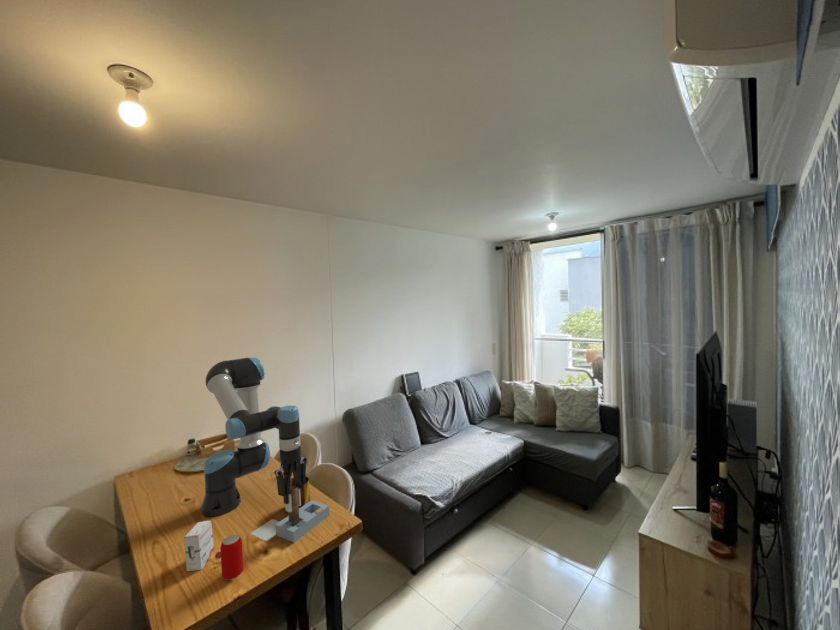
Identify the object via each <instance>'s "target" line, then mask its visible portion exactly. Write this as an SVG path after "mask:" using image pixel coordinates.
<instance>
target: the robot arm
mask: <svg viewBox="0 0 840 630" xmlns="http://www.w3.org/2000/svg"><path fill="white" fill-rule="evenodd" d="M265 374H266V373H265V368H264V365H263V363H262V361H261V359H259V358H258V357H243V358H236V359H231V360H222V361H219V362H217V363H216V364H214V365H213V366H212V367H211V368H210V369H209V370H208V372H207V374H206V376H205V386H206V388H207V390H208V391H209V393H212V394H213V395H214V398H215V400H216V401H217V402H218V404H219V406H220V409H222V412H223V414H224V416H225V418H226V419H227V420H226V422H225V425H224V426H225V428H224V429H225V434H226V437H227V438H228V440H231V441H233V440H237V439H240V442H239V443H238V444H237V450H235V451H234V450H233V449H226V450H225V449H223V450H220V451H217V452H215V453H213V454H211V455H210V456H208V457H207V458H206V459H205V460H204V463H203V473H204V474H203V475H204V491H205V494H204V497H203V501H202V504H201V514H202V515H203V516H206V517H215V516H221V515H224V514H227V513H229V512H231V511H233V510H234V509H236V508H237V507H238V506H239V505H241V502H242V501H241V500H242V498H241V494H240V492H239V490H238V488H237V485H236V479H238V478H242V477H244V476H247V475H250V474H252V473H256V472H259V471H260V470H263V469H265V468H266V467H268V465H269V463H270V459H271V449H270V445H269V444H268V442H265V439H264V438H263V437H261V433H262V432H265V431H270V430H273V429H277V430H278V442H279V443H278V445H279V459H280V461H281V462H280V463H281V464H280V465H279V468H278V469H277V470H276V469H275V470H274V472H273V473H274V476H275V477H276V486H277V494H278V495H279V496H280V497H282V498H283V504H285V508H284V509H285V511H286V512H292V500H291V494H289V491H290V480H291V478H294V481H295V486H297V487H298V501H299V506H301V495H302V488H303V487H304V486H303V484H305V483H306V477H307V473H306V471H307V469H306V468H307V465H306V464H307V459H308V458H307V457H303V456H302V447H301V430H300V429H301V428H300V427H301V426H300V411H299V407H298V406H297V405H291V404H290V405H284V406H277V405H274V406H270V407H268V408H267V409H266V410H263V411H260V408H259V397H258V396H259V394H258V388H259V387H260V386H261V381H263V380H264V379H265ZM302 479H303V480H302Z"/></svg>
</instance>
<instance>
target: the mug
mask: <svg viewBox="0 0 840 630" xmlns="http://www.w3.org/2000/svg"><path fill="white" fill-rule="evenodd" d="M302 480H303V479H302ZM291 486H295V481H294V477H291V480H290V487H291ZM303 486H304V487H303V488H302V495H301V506H299V508H301V507H302V506H304V505H305V504H307V503H308V502H310V501H311V491H310V478H309V477H308V476H306V483H305V484H303Z"/></svg>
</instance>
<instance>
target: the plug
mask: <svg viewBox="0 0 840 630" xmlns="http://www.w3.org/2000/svg"><path fill="white" fill-rule="evenodd" d="M289 494H291V500H292V512H288V511H287V512H288V516H289V522H291V523H293V522H296V521H298V520H299V501H298V487H297V486H291V487H290V491H289Z"/></svg>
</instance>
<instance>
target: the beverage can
mask: <svg viewBox="0 0 840 630" xmlns="http://www.w3.org/2000/svg"><path fill="white" fill-rule="evenodd" d="M219 550H220V564H221V578H222V579H223V580H225V581H231V580H234V579H236V578H237V577H238V576H240V575H241V574H242V572H243V571H244V555H243V553H244V552H243V538H241V536H239V534H232V535H228V536H227V537H225V538H224V539H223V540H222V542H221V544H220V549H219Z"/></svg>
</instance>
